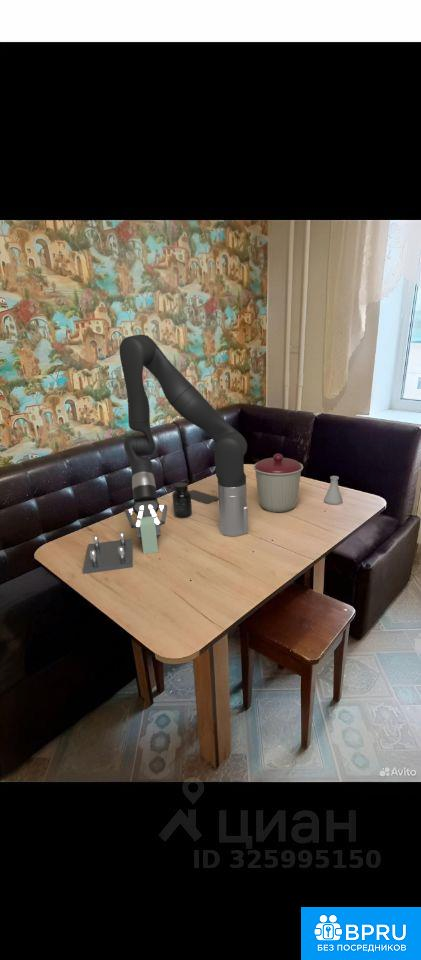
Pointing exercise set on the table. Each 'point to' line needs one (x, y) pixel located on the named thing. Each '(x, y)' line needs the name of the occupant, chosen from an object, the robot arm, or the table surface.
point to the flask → (333, 492)
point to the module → (148, 535)
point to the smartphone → (202, 497)
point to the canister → (278, 482)
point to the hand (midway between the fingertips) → (149, 538)
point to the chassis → (109, 555)
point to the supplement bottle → (182, 501)
